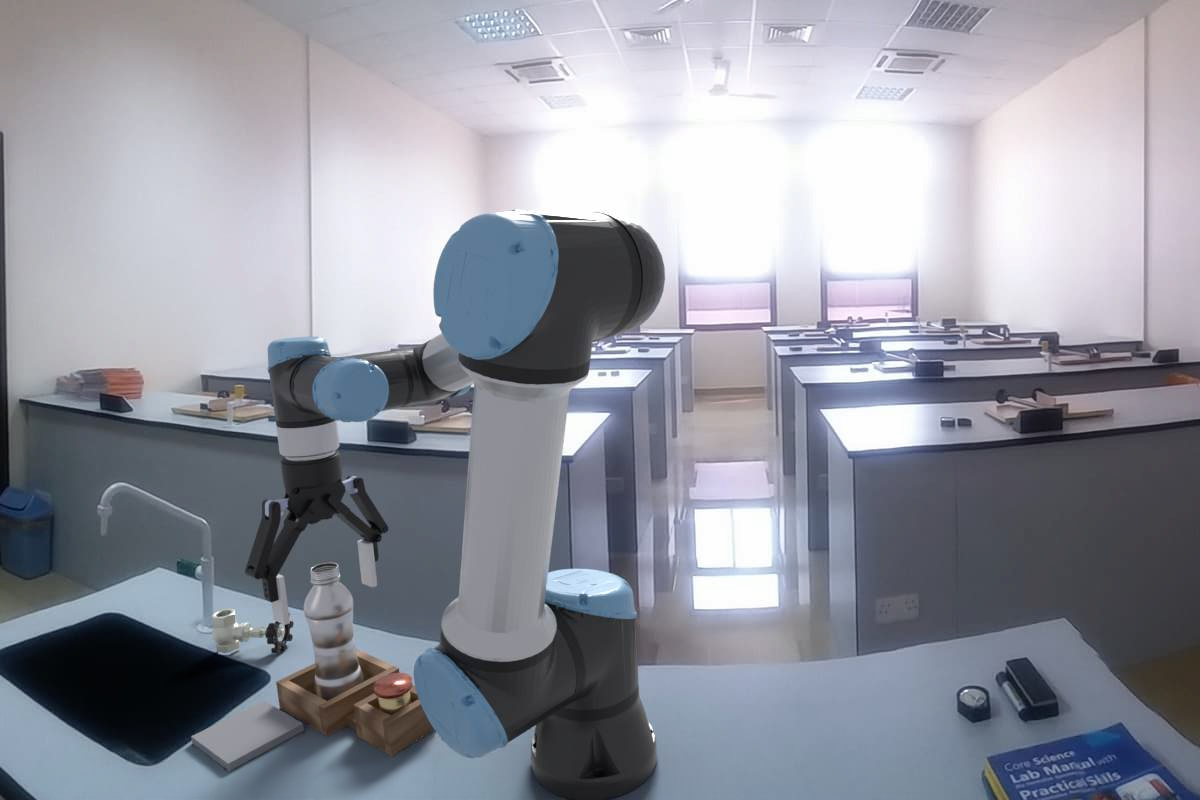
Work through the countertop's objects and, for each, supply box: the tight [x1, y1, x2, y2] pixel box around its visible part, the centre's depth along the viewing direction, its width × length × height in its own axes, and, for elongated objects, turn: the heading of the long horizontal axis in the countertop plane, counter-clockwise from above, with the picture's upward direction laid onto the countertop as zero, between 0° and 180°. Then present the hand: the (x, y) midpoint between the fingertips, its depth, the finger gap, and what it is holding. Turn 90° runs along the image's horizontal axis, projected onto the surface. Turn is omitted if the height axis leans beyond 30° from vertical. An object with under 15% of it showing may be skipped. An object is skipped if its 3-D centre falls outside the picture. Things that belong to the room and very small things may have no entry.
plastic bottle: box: [303, 562, 364, 701], centre depth 107 cm, size 6×7×20 cm
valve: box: [211, 608, 294, 654], centre depth 125 cm, size 7×7×12 cm
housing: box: [275, 648, 435, 757], centre depth 105 cm, size 23×12×4 cm, turn 52°
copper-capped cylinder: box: [374, 672, 413, 715], centre depth 100 cm, size 5×5×7 cm
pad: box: [190, 700, 305, 772], centre depth 101 cm, size 10×10×1 cm
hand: (327, 602), depth 106 cm, fingers open, 13 cm apart
